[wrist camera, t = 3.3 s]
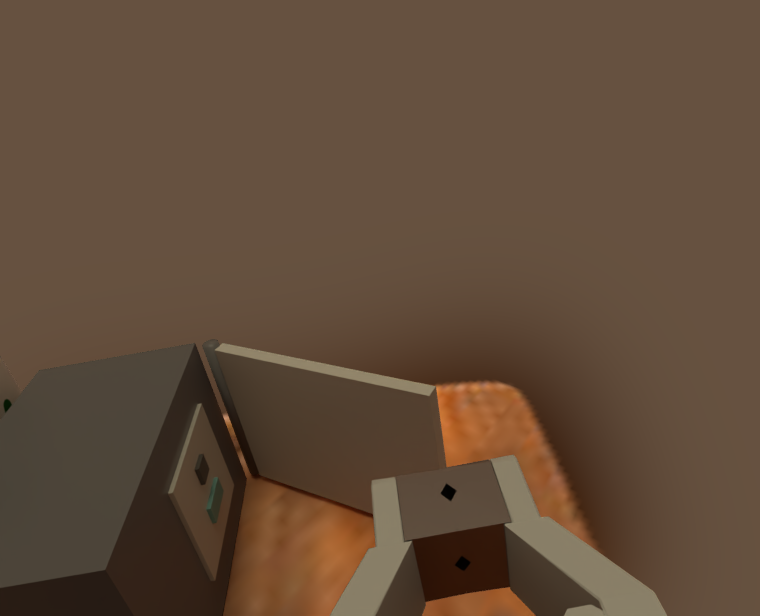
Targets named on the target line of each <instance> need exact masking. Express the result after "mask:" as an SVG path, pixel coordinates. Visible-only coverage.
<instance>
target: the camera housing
mask: <svg viewBox="0 0 760 616" xmlns="http://www.w3.org/2000/svg"><path fill="white" fill-rule="evenodd" d="M246 479H247V478H246V476H245V473H244V470H243V468H242V465H241V463H240V460H239V457H238V455H237V452H236V449H235V447H234V444H233V442H232V439H231V436H230V434H229V431H228V428H227V426H226V423H225V421H224V418H223V415H222V413H221V410H220V407H219V405H218V402H217V400H216V397H215V394H214V392H213V389H212V387H211V384H210V381H209V379H208V376H207V373H206V371H205V368H204V365H203V363H202V360H201V358H200V355H199V352H198V350H197V347H196V344H195V343H193V344H187V345H182V346H176V347H170V348H165V349H159V350H154V351H147V352H142V353H136V354H130V355H124V356H119V357H113V358H107V359H101V360H96V361H90V362H84V363H79V364H73V365H67V366H61V367H56V368H50V369H44V370H39V371H38V373H37V374H36V375H35V376H34V378H33V379H32V380H31V382H30V383H29V384H28V385H27V387H26V388H25V389H24V390H23V392H22V393H21V394H20V395H19V397H18V398H17V399H16V400H15V402H14V403H13V404H12V406H11V407H10V408H9V409H8V411H7V412H6V413H5V414H4V416H3V417H2V418H1V420H0V616H223V610H224V604H225V598H226V593H227V587H228V581H229V576H230V570H231V564H232V559H233V553H234V547H235V542H236V536H237V530H238V525H239V519H240V513H241V508H242V502H243V496H244V490H245V485H246Z"/></svg>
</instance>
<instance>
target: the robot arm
mask: <svg viewBox="0 0 760 616" xmlns="http://www.w3.org/2000/svg"><path fill="white" fill-rule="evenodd" d="M371 492H372V505H373V517H374V530H375V543H376V547H374V548H370V549H368V551H367V553H366V554H365V556H364V558H363V559H362V561H361V563H360V565H359V566H358V568H357V570H356V571H355V573H354V575H353V577H352V578H351V580H350V582H349V583H348V585H347V587H346V589H345V590H344V592H343V594H342V595H341V597H340V599H339V601H338V602H337V604H336V606H335V607H334V609H333V611H332V613H331V614H330V616H422V614H423V611H424V609H425V606H426V603H425V602H428V601H433V600H437V599H442V598H447V597H452V596H457V595H461V594H466V593H473V592H479V591H486V590H493V589H500V588H506V587H510V589H511V590H512V591H513V592H514V593H515V594H516V595H517V596H518V597H519V598H520V599H521V601H522V602H523V603H524V604H525V605H526V606H527V607H528V608H529V609H530V610H531V611H532V612H533V613H534V614H535V615H536V616H667V615H666V613H665V611H664V609H663V607H662V606H661V604H660V602H659V600H658V598H657V596H656V595H655V593H654V591H652V590H651V589H649V588H648V587H647V586H645V585H644V584H642V583H641V582H640V581H638V580H637V579H635V578H634V577H633V576H631V575H630V574H628V573H627V572H625V571H624V570H623V569H621V568H620V567H618V566H617V565H616V564H614V563H613V562H611V561H610V560H609V559H607V558H606V557H604V556H603V555H602V554H600V553H599V552H597V551H596V550H595V549H593V548H592V547H590V546H589V545H588V544H586V543H585V542H583V541H582V540H581V539H579V538H578V537H576V536H575V535H574V534H572V533H571V532H569V531H568V530H567V529H565V528H564V527H562V526H561V525H560V524H558V523H557V522H555V521H554V520H552V519H551V518H550V517H540V514H539V512H538V509H537V507H536V505H535V502H534V500H533V497H532V495H531V492H530V490H529V487H528V485H527V483H526V480H525V478H524V475H523V473H522V470H521V468H520V466H519V463H518V461H517V458H516V457H515V456H514V455H510V456H504V457H499V458H494V459H490V460H483V461H478V462H473V463H468V464H462V465H457V466H452V467H447V468H442V469H438V470H432V471H425V472H419V473H413V474H406V475H400V476H396V477H390V478H384V479H377V480H372V484H371Z"/></svg>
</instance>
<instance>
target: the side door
mask: <svg viewBox="0 0 760 616" xmlns="http://www.w3.org/2000/svg"><path fill="white" fill-rule="evenodd" d="M202 346H203V349H204V352H205V354H206V357H207V360H208V362H209V365H210V368H211V370H212V373H213V376H214V378H215V381H216V384H217V387H218V389H219V392H220V394H221V397H222V400H223V402H224V405H225V408H226V411H227V413H228V416H229V419H230V421H231V424H232V427H233V429H234V432H235V435H236V437H237V440H238V443H239V445H240V448H241V451H242V453H243V456H244V459H245V461H246V464H247V467H248V469H249V472H250V474H252V475H257V474H260V475H261V476H264V477H266V478H269V479H272V480H275V481H278V482H281V483H284V484H287V485H290V486H293V487H296V488H298V489H301V490H304V491H307V492H310V493H313V494H316V495H319V496H322V497H325V498H328V499H330V500H333V501H336V502H339V503H342V504H345V505H348V506H351V507H354V508H357V509H360V510H362V511H365V512H368V513H371V514H373V505H372V492H371V484H372V480H377V479H384V478H390V477H396V476H400V475H406V474H413V473H419V472H425V471H432V470H438V469H442V468H447V467H446V460H445V452H444V445H443V437H442V430H441V422H440V414H439V407H438V399H437V392H436V386H431V385H426V384H422V383H417V382H411V381H407V380H401V379H397V378H392V377H387V376H382V375H377V374H372V373H367V372H362V371H357V370H352V369H347V368H343V367H338V366H333V365H328V364H323V363H318V362H313V361H308V360H303V359H298V358H293V357H288V356H283V355H278V354H273V353H269V352H264V351H259V350H254V349H249V348H244V347H239V346H234V345H229V344H224V343H223V344H221V345H219V343H218V340H215V339H212V340H208V341H206V342H205V343H204V344H203V345H202Z"/></svg>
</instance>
